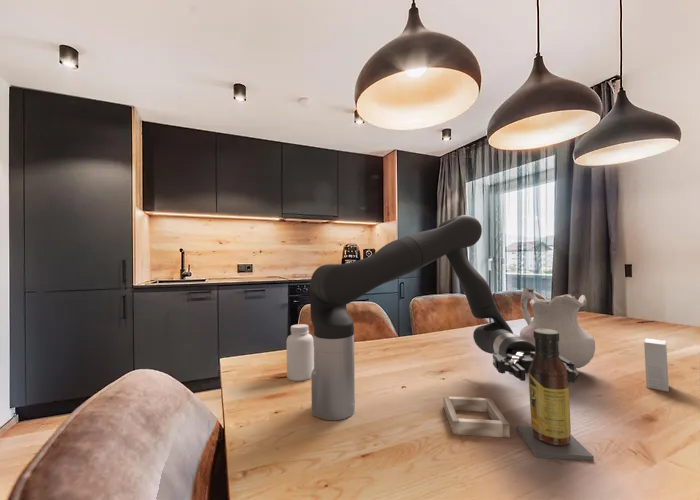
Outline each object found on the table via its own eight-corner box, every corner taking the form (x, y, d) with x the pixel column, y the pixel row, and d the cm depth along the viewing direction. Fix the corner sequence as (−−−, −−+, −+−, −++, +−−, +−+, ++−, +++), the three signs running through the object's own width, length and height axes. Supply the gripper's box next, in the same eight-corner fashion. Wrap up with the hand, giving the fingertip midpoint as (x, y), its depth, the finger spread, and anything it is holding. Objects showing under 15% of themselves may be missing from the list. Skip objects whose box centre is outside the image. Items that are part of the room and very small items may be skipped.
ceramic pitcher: (501, 368, 101) (496, 292, 101) (535, 354, 111) (530, 284, 111) (577, 392, 83) (570, 298, 82) (609, 373, 92) (603, 289, 92)
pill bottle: (281, 377, 92) (281, 325, 93) (302, 370, 98) (302, 322, 99) (297, 384, 87) (297, 329, 88) (319, 376, 93) (319, 325, 93)
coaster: (536, 457, 54) (536, 452, 54) (515, 429, 62) (515, 425, 63) (593, 461, 52) (593, 456, 52) (564, 432, 61) (564, 428, 61)
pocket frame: (453, 434, 61) (452, 420, 61) (443, 407, 72) (443, 396, 72) (509, 437, 60) (509, 424, 60) (490, 409, 71) (490, 398, 71)
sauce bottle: (534, 425, 62) (530, 325, 63) (572, 436, 58) (567, 328, 59) (528, 440, 57) (523, 331, 58) (569, 453, 53) (564, 335, 54)
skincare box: (646, 381, 87) (644, 337, 87) (668, 385, 84) (666, 340, 84) (645, 387, 82) (643, 341, 83) (669, 392, 79) (666, 344, 80)
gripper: (482, 335, 75) (507, 355, 59) (546, 336, 74) (589, 357, 57) (483, 366, 75) (508, 395, 59) (547, 368, 73) (590, 399, 57)
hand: (548, 376), depth 58 cm, fingers open, 8 cm apart
